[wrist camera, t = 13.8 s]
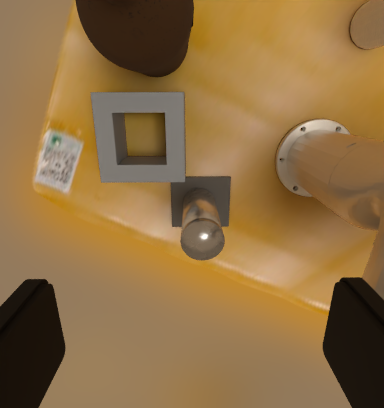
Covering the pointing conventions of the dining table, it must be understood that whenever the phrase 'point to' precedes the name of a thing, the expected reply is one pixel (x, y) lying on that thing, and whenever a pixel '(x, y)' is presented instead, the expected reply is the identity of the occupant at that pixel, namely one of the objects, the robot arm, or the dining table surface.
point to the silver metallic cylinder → (201, 225)
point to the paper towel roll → (368, 25)
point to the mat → (212, 184)
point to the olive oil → (139, 32)
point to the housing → (116, 136)
